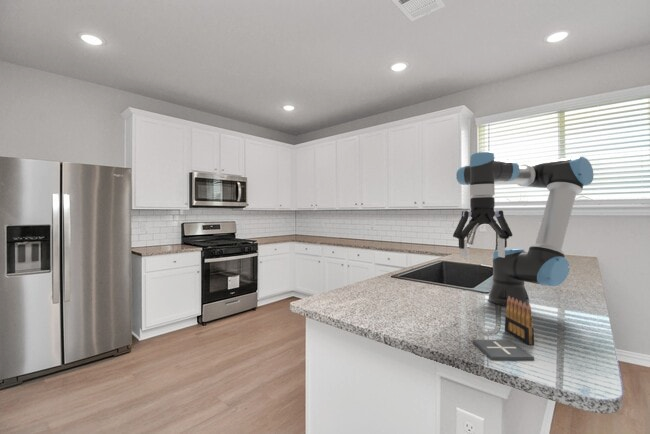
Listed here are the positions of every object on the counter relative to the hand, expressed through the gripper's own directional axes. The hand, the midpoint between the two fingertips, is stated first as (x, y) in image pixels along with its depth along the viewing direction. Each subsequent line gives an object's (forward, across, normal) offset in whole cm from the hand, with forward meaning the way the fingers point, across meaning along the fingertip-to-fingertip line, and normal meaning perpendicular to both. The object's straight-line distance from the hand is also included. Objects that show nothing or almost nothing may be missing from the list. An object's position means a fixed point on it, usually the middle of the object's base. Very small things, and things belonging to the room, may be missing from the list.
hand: (482, 257), depth 107 cm
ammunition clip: (+23, -4, +13) cm, 27 cm away
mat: (+23, +7, +21) cm, 32 cm away
